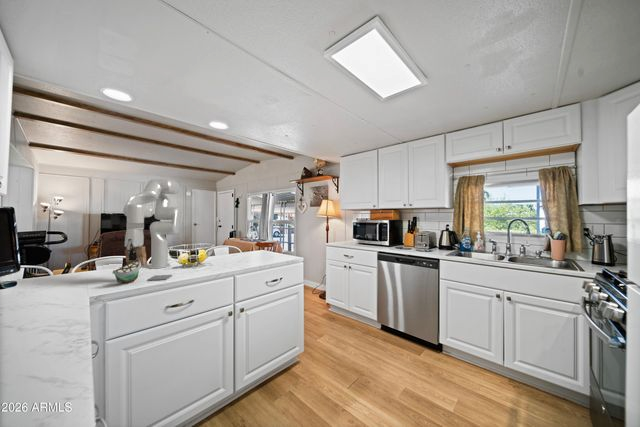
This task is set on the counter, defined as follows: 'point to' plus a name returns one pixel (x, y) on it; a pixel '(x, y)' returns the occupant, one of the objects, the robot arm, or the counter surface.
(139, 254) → the tan cardboard box
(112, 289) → the counter surface
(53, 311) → the counter surface
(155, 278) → the mat
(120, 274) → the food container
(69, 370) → the counter surface
